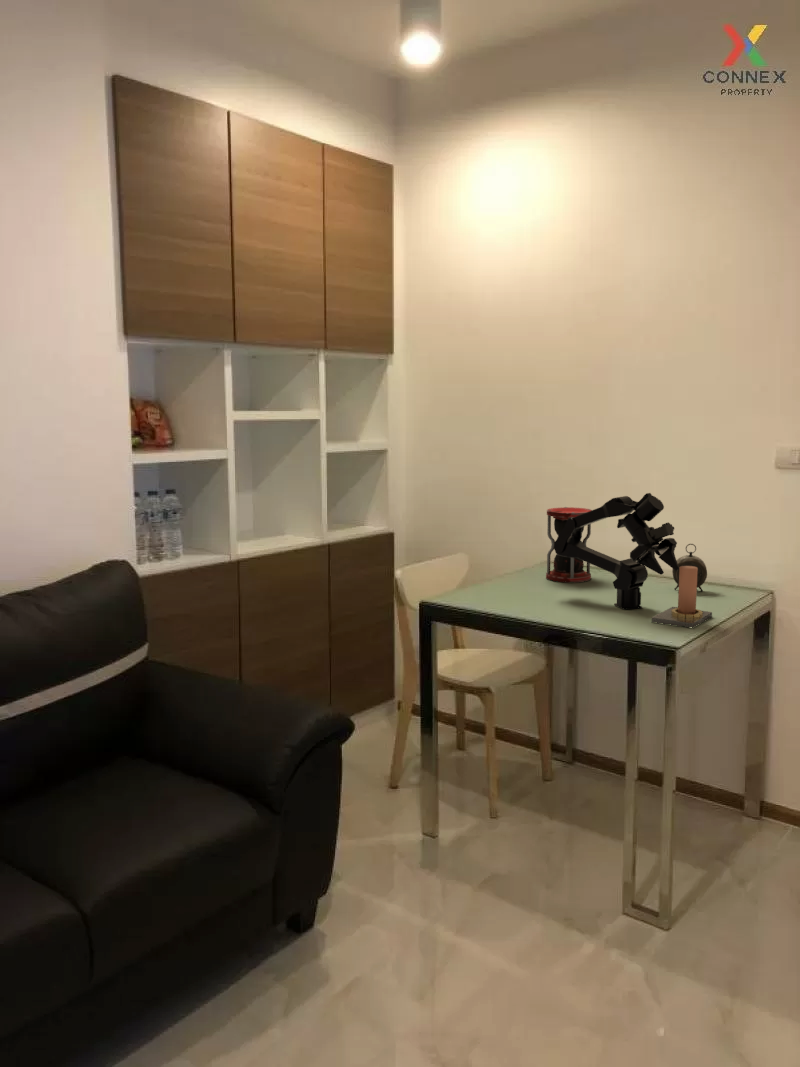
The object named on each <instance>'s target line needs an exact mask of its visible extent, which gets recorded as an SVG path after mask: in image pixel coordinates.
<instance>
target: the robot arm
mask: <svg viewBox="0 0 800 1067" xmlns="http://www.w3.org/2000/svg"><path fill="white" fill-rule="evenodd" d="M664 509H665V506H664V503H663V502H662V500H661V499H659V498H658V497H656V496H655V495H653V494H652V493H651V492H647V493H645V494H644V495H643V496H642V498H641V499H640V500H639V501H636V500H633V499H632V498H631V497H629V496H627V495H624V496H619V497H618V496H617V497H613V498H610V500H607V501H606V502H604V504H602V505H601V506H600V507H597V508H594V509H591V510H592V511H589V512H587V513H584V514H581V515H579V516H576V517H572V518H569V519H568V520H567V522H566V524H565V527H564V528H563V529H562V531H561V532H560V533H559V535H557V538H556V540H555V543H554V552H555V554H558V555H560V556H564V557H570V558H578V559H581V560H583V562H586V563H587V562H588V563H590V565H593V566H594V567H597V568H600V569H602V570H605V571H606V572H609V573H611V574H613V575H614V577H615V580H614V581H613V582H612V584H613V588H614V589H615V590H616V602H615V603H614V604H613V605H614V606H615V607H616V608H619V609H621V610H635V609H643V606H642V592H641V587H643V585H644V584H645V583H644V582H645V581H646V580H648V576H649V575H648V574H649V573H648V569H650V570H652V571H653V572H655V573H656V574H659V575H663V574H664V572H665V571H664V569H663V568H662V566H661V564H660V562H658V560H657V558H656V555H657V556H658V559H659V560H661V561H662V562H664V563H665V564H667V565H668V567H670V568H672V569H674V570H676V571H677V570H679V566H678V563H677V560H678V559H677V558H676V554H675V549H676V548H677V544H678V542H677V541H676V540H675V538H673V537H668V536H673V535H675V534H674V530H675V527H674V526H673V524H671V522H665V523H662V524H661V526H659V527H653V526H649V525H648V524H647V523H646V521H647V522H651V521H652V520H653V519H654V518H655V517H657V516H658V515H659V514H660V513H661V512H662V511H663V510H664ZM620 516H624V517H622V518H619V519H617V523H616V524H617V525H616V527H617V529H621V528H625V529H626V530H627V532H628V533H629V535H630V536H631V537H632V538H631V542H632V543H636V544H637V546H635V548H633V549H632V550H631V551H630V552H629V558H626V559H622V560H619V559H616V558H614V557H612V556H609V555H607V554H605V553H602V552H600V551H597V550H595V549H592V548H590V547H588V546H587V545H586V546H585V545H584V544H583V540H582V538H583V532H582V528H583V526H584V527H586V526H588V525H589V524H591V525H592V524H595V523H597V522H599V521H603V520H604V519H607V518H613V517H620ZM571 535H572V536H571ZM655 554H656V555H655ZM647 568H648V569H647Z"/></svg>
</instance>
